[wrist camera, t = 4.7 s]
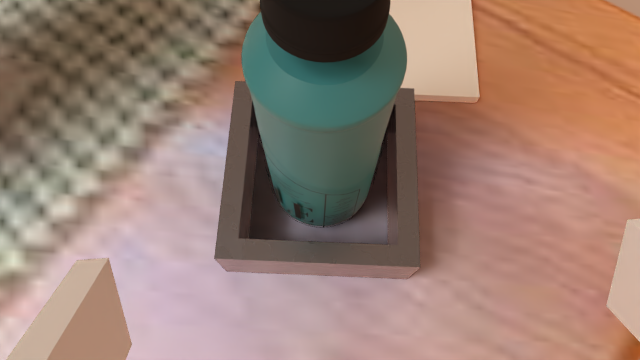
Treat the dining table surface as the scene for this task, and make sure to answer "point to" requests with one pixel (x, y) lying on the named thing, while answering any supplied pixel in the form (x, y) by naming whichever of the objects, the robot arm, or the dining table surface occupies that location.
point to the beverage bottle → (323, 99)
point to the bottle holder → (320, 256)
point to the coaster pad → (438, 49)
